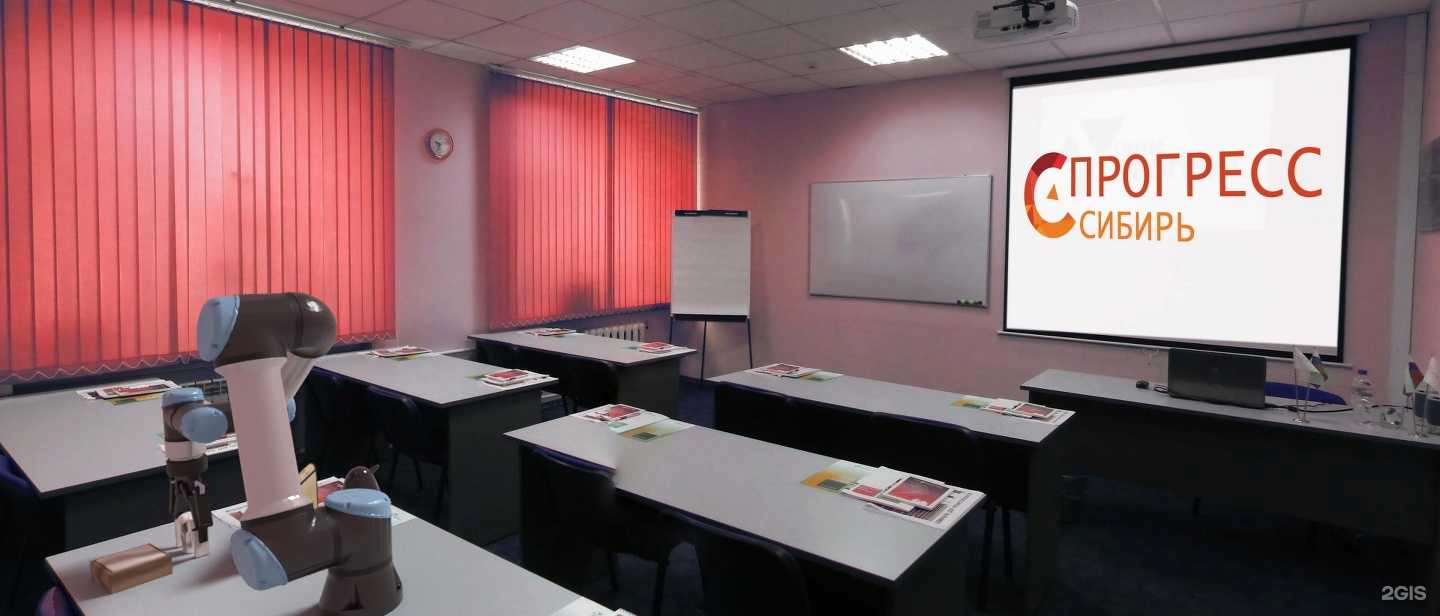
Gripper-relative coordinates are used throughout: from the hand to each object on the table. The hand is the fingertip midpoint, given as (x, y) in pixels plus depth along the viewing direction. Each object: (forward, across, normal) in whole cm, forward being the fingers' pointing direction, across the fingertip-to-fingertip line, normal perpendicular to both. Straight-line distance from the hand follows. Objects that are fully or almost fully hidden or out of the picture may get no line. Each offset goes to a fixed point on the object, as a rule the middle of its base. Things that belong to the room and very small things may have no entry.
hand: (192, 549), depth 164 cm
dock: (0, -3, +12) cm, 13 cm away
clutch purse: (+1, -12, -14) cm, 19 cm away
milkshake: (0, 0, 0) cm, 0 cm away
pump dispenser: (0, -18, -30) cm, 35 cm away
